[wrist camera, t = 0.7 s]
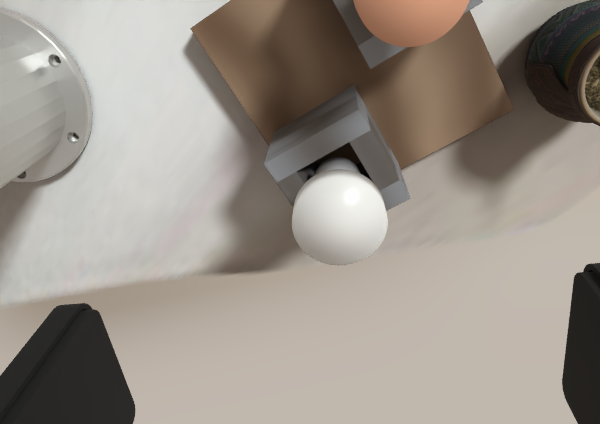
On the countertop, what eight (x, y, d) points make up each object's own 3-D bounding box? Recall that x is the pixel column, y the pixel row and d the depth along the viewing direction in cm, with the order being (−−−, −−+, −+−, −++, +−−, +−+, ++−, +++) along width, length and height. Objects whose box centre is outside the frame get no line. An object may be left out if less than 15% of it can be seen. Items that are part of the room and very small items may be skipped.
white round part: (323, 226, 33) (322, 279, 27) (282, 165, 31) (273, 209, 26) (391, 191, 31) (404, 239, 26) (353, 126, 30) (358, 163, 24)
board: (315, 202, 40) (312, 256, 33) (197, 24, 35) (163, 42, 28) (504, 101, 36) (548, 138, 29) (404, -120, 30) (428, -143, 23)
